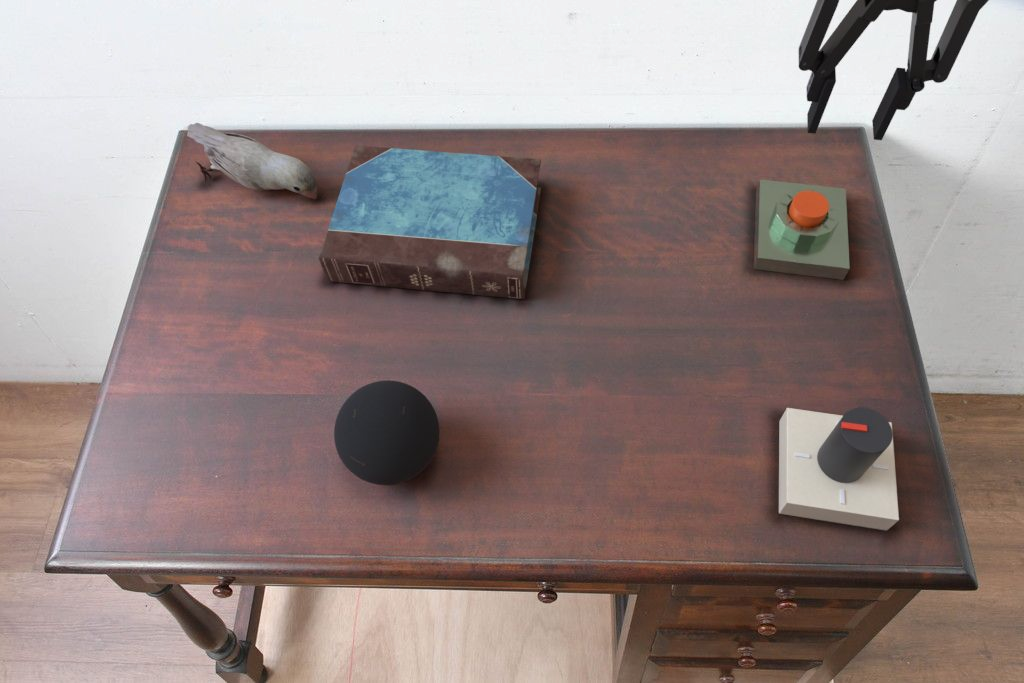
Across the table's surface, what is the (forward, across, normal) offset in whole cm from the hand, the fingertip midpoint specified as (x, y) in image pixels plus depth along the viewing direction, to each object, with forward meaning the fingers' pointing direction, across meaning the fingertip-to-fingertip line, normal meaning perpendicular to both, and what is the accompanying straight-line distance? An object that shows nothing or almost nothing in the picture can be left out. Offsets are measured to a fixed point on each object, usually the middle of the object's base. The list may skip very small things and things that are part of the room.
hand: (844, 126), depth 79 cm
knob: (+14, +3, -30) cm, 33 cm away
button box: (+17, 0, 0) cm, 17 cm away
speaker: (+17, -40, -35) cm, 56 cm away
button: (+13, 0, 0) cm, 13 cm away
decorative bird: (+17, -66, -2) cm, 68 cm away
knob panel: (+17, +3, -30) cm, 35 cm away
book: (+17, -42, -6) cm, 46 cm away
